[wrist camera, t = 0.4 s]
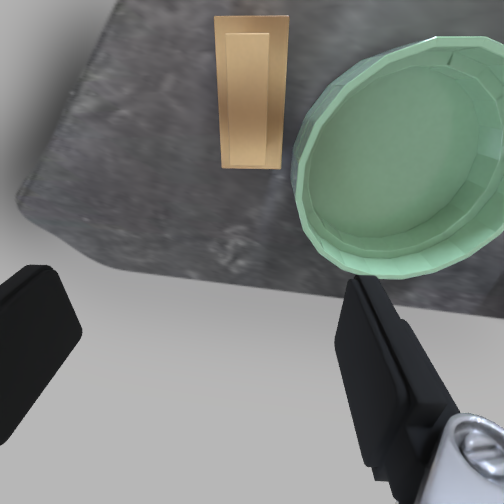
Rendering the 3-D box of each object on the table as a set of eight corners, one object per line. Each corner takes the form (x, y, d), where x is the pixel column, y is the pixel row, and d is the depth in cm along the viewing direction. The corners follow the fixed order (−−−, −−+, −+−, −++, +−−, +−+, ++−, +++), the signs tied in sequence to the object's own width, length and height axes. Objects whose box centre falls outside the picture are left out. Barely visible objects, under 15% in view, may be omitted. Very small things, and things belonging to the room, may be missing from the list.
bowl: (299, 47, 21) (309, 36, 16) (531, 47, 21) (619, 36, 15) (284, 243, 30) (288, 276, 25) (447, 247, 29) (485, 282, 24)
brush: (219, 22, 21) (197, -5, 14) (287, 22, 20) (296, -6, 14) (225, 161, 26) (211, 187, 19) (279, 162, 26) (284, 188, 19)
